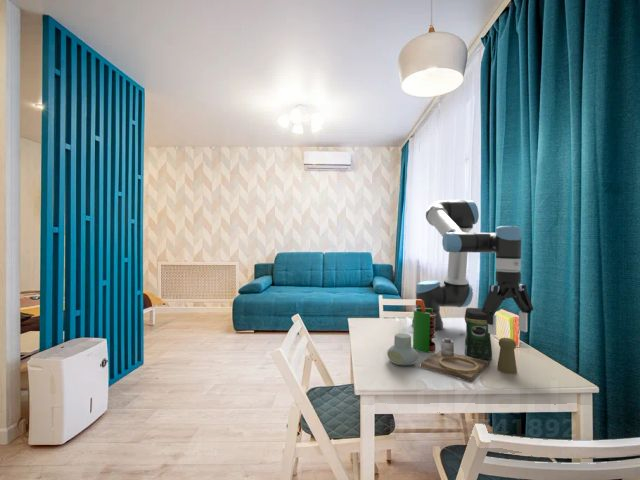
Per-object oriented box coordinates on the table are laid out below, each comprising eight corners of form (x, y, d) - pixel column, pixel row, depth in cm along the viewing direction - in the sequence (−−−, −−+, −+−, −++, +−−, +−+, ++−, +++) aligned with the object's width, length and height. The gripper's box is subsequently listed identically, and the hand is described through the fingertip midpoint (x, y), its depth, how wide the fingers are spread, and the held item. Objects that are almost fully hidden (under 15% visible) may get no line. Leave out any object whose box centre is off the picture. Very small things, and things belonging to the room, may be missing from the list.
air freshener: (383, 360, 118) (383, 333, 118) (397, 355, 123) (398, 330, 123) (407, 370, 110) (408, 341, 109) (422, 364, 115) (422, 337, 114)
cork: (510, 375, 106) (510, 342, 106) (493, 368, 111) (493, 337, 111) (521, 372, 109) (521, 340, 109) (503, 365, 114) (504, 335, 114)
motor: (437, 353, 126) (437, 303, 126) (413, 351, 128) (414, 301, 127) (433, 345, 136) (434, 298, 136) (411, 343, 138) (412, 297, 137)
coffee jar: (491, 354, 125) (491, 307, 125) (493, 362, 118) (493, 311, 117) (463, 351, 129) (464, 305, 128) (464, 357, 121) (464, 309, 121)
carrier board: (441, 353, 126) (441, 334, 126) (488, 365, 114) (488, 344, 114) (420, 366, 113) (420, 345, 113) (471, 381, 101) (471, 358, 101)
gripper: (487, 272, 103) (487, 338, 102) (545, 271, 110) (545, 332, 110) (470, 270, 110) (470, 332, 110) (525, 269, 117) (525, 327, 117)
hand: (507, 332), depth 110 cm, fingers open, 13 cm apart
